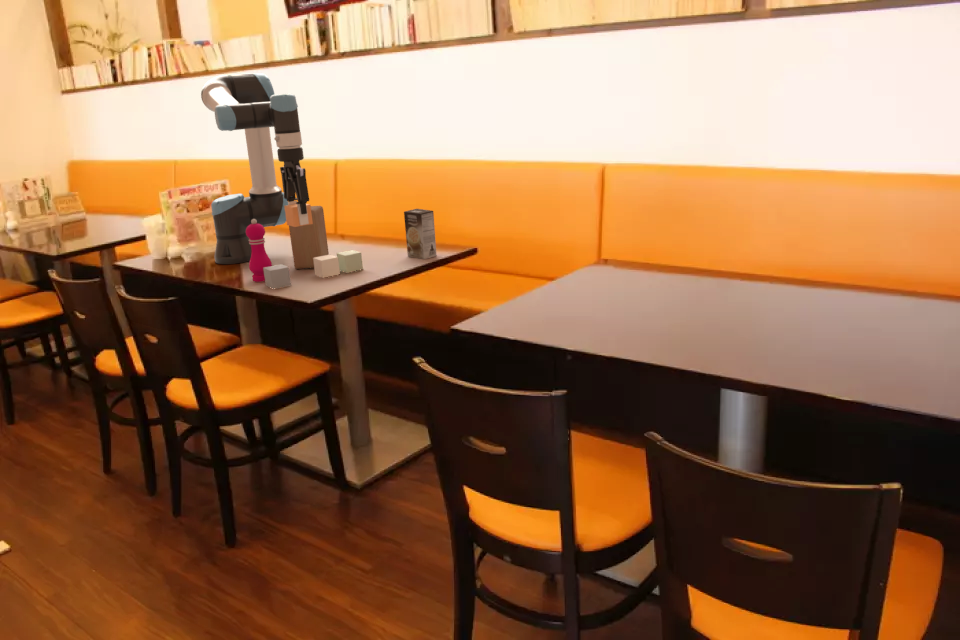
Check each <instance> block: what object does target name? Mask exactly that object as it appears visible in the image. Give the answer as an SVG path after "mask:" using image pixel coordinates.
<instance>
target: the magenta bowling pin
mask: <svg viewBox="0 0 960 640" xmlns="http://www.w3.org/2000/svg"><path fill="white" fill-rule="evenodd" d="M251 223H252V224H250V225H249V226H248V227H247V228H246V235H247V237H248V238H249V244H251V250H252V253H251V259H250V261H248V262H249V265H248V267H249V268H248V269H249V270H250V272H251V273H252V276H251V277H252V279H251V280H252V281H253V282H254V281H255V282H257V283H260V282H261V283H262V281H263V282H265V276H264V270H263V268H264V267H269V266H273V263H272V261H271V258H270V257H269V255H268V254H267V251H266V249H265V243H266V240H265V238H264V236H265V235H266V229H265V227H263V226H262V225H261V224H257V220H256V219H252V220H251Z"/></svg>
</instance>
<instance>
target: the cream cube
mask: <svg viewBox="0 0 960 640" xmlns="http://www.w3.org/2000/svg"><path fill="white" fill-rule="evenodd" d="M313 261H314V268H313V269H314V273H315V274H314V275H315V276H316V275H317V276H316V277H318V276H320V277H319V278H321V277H323V278H322V279H325V278H324V277H328V276H332V277H334V276H333V275H337V276H339V275H338V274H340V275H341V271H340V270H339V261H338V257H337V255H333V254H329V255H325V256H320V257H315V258H313ZM328 278H329V277H328Z"/></svg>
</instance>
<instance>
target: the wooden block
mask: <svg viewBox="0 0 960 640" xmlns="http://www.w3.org/2000/svg"><path fill="white" fill-rule="evenodd" d="M311 213H312V221H313V224H310V225H304V226H298V227H293V226H289V225H288V228H289V229H288V230H289V238H290V244H291V250H292V251H291V253H292V258H293V265H294V266H293V267H294V269H297V270H302V269H304V268H310V269H314V261H313V258H315V257H320V256H325V255H330V254H329V245H328V237H327V228H326V223H325V222H326V221H325V212H324V207H323V206H321V205H311ZM304 270H305V269H304Z"/></svg>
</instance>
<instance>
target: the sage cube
mask: <svg viewBox="0 0 960 640" xmlns="http://www.w3.org/2000/svg"><path fill="white" fill-rule="evenodd" d="M336 257H338V261H339V270H341V271H340V272H342V271H344V272H343V273H345V272H347V273H346V274H349V273H348V272H351V271H355V272H357V271H356V270H360V269H363V270H364V265H363V257H362V252H361V251H357V250H354V249H351V250H346V251H341V252H336ZM360 271H361V270H360ZM351 273H352V272H351Z"/></svg>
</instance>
